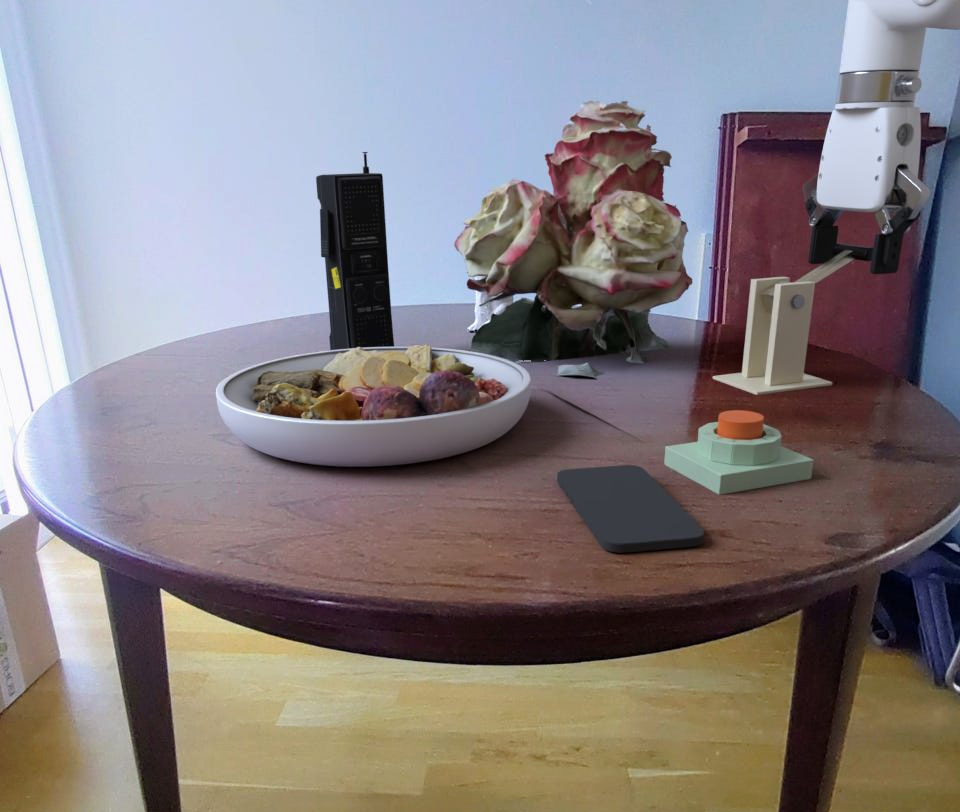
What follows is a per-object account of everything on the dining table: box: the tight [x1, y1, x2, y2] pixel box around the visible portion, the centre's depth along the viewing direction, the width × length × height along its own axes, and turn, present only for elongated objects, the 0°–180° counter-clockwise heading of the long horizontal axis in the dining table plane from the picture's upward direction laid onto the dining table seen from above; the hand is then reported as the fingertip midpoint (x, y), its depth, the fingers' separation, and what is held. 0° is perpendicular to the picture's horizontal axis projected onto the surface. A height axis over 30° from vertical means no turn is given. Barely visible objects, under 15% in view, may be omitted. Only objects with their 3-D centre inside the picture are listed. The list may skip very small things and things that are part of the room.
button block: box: [663, 421, 814, 495], centre depth 75 cm, size 9×8×4 cm
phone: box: [556, 464, 706, 554], centre depth 68 cm, size 7×1×15 cm
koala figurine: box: [459, 252, 514, 330], centre depth 133 cm, size 8×7×12 cm
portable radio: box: [315, 151, 395, 350], centre depth 112 cm, size 8×6×25 cm
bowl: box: [215, 344, 532, 468], centre depth 88 cm, size 30×30×8 cm
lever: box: [762, 242, 873, 314], centre depth 97 cm, size 12×5×2 cm, turn 112°
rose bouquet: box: [454, 100, 693, 381], centre depth 109 cm, size 26×29×30 cm
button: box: [717, 409, 765, 440], centre depth 74 cm, size 4×4×2 cm
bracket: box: [712, 276, 833, 396], centre depth 98 cm, size 10×8×12 cm
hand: (850, 267), depth 99 cm, fingers open, 9 cm apart
